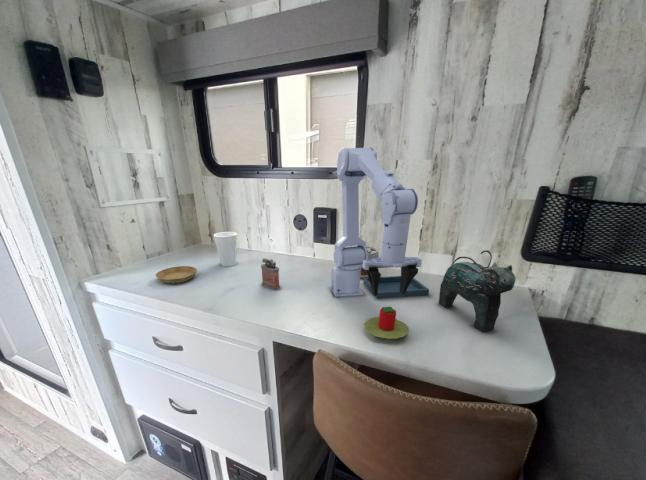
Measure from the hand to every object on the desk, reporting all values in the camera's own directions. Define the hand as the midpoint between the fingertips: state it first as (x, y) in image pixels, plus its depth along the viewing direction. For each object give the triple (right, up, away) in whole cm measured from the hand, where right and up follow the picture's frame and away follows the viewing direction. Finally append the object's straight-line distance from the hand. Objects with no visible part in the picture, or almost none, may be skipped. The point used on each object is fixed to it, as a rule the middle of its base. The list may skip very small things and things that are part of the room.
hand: (388, 293), depth 80 cm
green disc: (-1, -10, 0) cm, 11 cm away
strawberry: (-1, -9, -1) cm, 9 cm away
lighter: (-34, +3, +30) cm, 45 cm away
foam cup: (-55, +14, +54) cm, 78 cm away
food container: (+3, +8, +39) cm, 40 cm away
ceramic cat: (+23, -7, +7) cm, 25 cm away
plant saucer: (-70, +6, +38) cm, 80 cm away
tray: (+9, +2, +26) cm, 28 cm away
